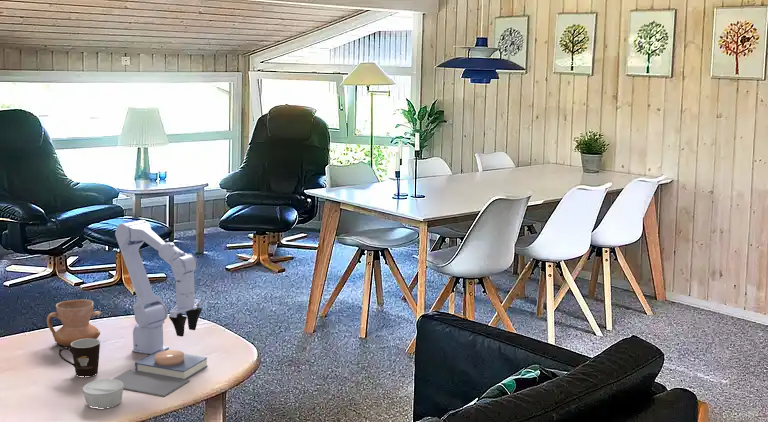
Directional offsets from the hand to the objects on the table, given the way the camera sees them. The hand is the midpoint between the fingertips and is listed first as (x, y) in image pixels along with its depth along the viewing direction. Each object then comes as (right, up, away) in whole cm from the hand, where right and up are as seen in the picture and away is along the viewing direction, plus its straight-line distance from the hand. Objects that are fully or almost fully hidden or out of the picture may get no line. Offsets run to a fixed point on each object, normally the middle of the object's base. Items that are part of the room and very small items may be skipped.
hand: (186, 332), depth 280 cm
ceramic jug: (-42, -6, +16) cm, 45 cm away
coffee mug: (-30, -11, -11) cm, 34 cm away
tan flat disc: (-4, -8, -7) cm, 11 cm away
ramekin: (-16, -16, -33) cm, 40 cm away
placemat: (-8, -13, -18) cm, 23 cm away
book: (-3, -11, -6) cm, 13 cm away
